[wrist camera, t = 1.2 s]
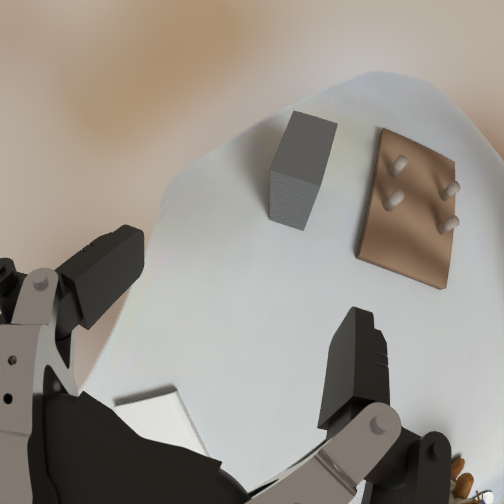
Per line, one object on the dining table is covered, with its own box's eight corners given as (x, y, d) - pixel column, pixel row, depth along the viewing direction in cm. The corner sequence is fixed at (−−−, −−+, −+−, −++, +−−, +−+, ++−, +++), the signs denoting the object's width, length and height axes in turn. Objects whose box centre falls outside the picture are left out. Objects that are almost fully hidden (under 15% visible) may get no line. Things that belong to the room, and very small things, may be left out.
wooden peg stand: (440, 289, 25) (461, 284, 21) (355, 258, 27) (369, 248, 23) (450, 166, 29) (465, 150, 25) (380, 133, 30) (391, 113, 26)
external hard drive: (179, 388, 25) (226, 481, 22) (118, 403, 25) (164, 490, 22) (174, 392, 24) (224, 488, 21) (111, 407, 23) (160, 496, 20)
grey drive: (303, 231, 28) (320, 186, 18) (269, 219, 28) (269, 170, 18) (318, 180, 29) (337, 122, 19) (287, 170, 29) (294, 109, 20)
